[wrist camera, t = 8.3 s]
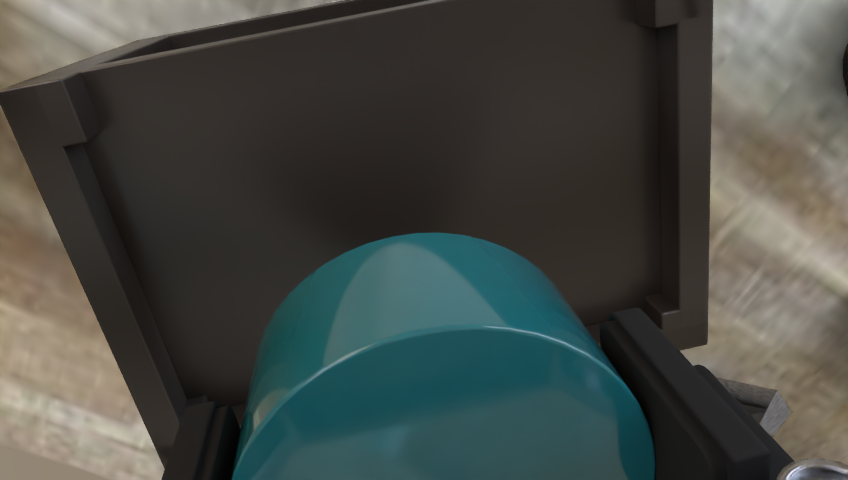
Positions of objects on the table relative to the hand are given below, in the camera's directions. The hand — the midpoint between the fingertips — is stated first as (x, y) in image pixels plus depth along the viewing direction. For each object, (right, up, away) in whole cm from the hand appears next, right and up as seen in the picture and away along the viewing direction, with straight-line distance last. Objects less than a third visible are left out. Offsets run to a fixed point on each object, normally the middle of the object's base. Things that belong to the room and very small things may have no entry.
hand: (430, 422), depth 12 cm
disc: (0, +1, +1) cm, 1 cm away
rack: (-2, +8, +17) cm, 19 cm away
